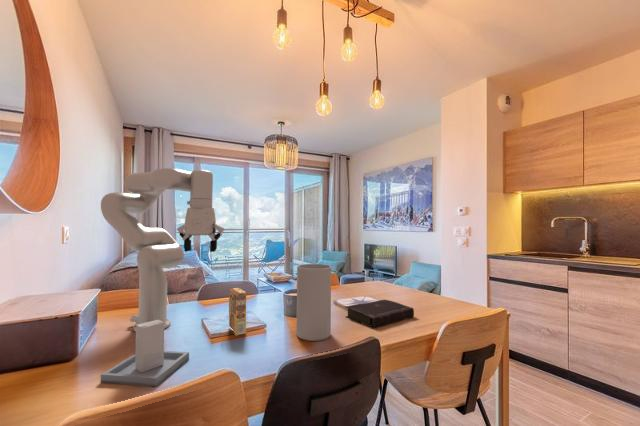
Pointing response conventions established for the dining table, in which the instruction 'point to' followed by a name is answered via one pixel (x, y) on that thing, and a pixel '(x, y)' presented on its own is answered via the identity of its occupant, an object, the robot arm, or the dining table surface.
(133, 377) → the tray
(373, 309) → the diary
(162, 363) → the skincare box
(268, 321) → the dining table surface
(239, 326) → the candy box
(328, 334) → the cylinder vase
